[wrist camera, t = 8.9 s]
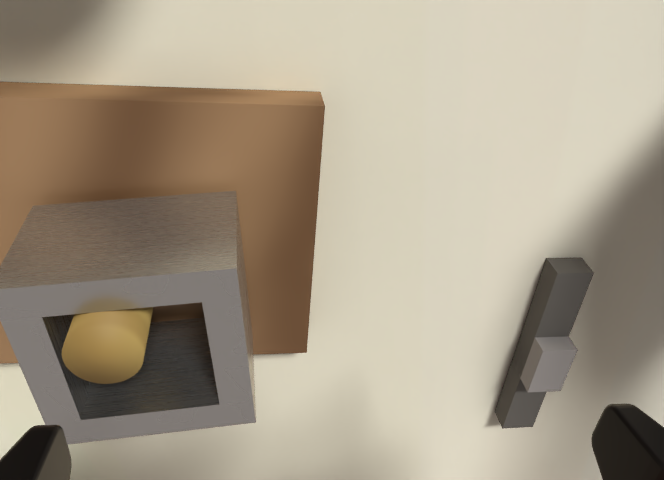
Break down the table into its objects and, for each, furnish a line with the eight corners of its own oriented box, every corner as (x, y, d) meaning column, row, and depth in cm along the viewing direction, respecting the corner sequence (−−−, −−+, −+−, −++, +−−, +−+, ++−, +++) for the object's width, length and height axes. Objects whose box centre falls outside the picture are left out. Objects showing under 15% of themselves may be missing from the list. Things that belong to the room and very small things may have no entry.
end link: (236, 191, 18) (236, 268, 15) (252, 333, 22) (255, 422, 18) (32, 206, 18) (-14, 290, 14) (82, 350, 21) (54, 445, 18)
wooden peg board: (320, 92, 18) (350, 186, 13) (303, 331, 24) (321, 463, 19) (-102, 78, 17) (-252, 182, 12) (-16, 341, 22) (-92, 490, 17)
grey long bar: (581, 257, 24) (604, 285, 22) (524, 409, 29) (539, 440, 27) (546, 258, 23) (567, 286, 22) (494, 411, 28) (508, 442, 27)
